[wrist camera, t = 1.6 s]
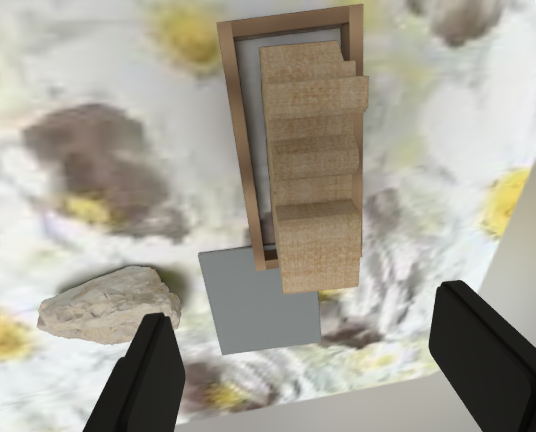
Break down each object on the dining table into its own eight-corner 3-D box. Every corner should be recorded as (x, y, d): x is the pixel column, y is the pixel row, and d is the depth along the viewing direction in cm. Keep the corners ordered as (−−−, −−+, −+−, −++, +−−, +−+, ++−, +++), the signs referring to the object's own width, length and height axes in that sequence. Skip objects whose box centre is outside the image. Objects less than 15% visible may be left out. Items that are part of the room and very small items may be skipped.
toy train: (326, 45, 25) (371, 22, 16) (327, 232, 32) (359, 292, 23) (258, 51, 25) (263, 32, 16) (273, 237, 32) (284, 300, 22)
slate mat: (198, 253, 32) (197, 255, 31) (313, 237, 32) (314, 239, 31) (222, 352, 37) (222, 355, 37) (320, 339, 37) (321, 341, 37)
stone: (170, 300, 38) (197, 350, 30) (55, 348, 33) (49, 425, 24) (155, 246, 35) (180, 284, 27) (25, 287, 30) (8, 352, 22)
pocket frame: (219, 28, 24) (216, 22, 22) (352, 11, 24) (363, 3, 22) (255, 258, 32) (256, 271, 30) (354, 245, 32) (362, 256, 30)
